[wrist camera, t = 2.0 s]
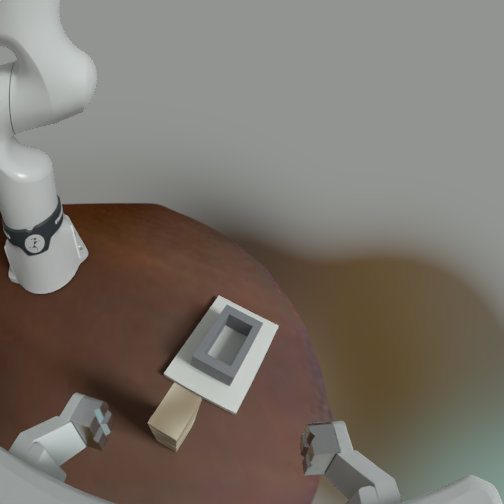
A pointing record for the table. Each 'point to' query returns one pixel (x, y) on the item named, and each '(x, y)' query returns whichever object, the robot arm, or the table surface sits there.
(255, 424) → the table surface
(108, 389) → the table surface
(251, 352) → the stand
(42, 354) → the table surface
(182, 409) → the slat
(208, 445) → the table surface
